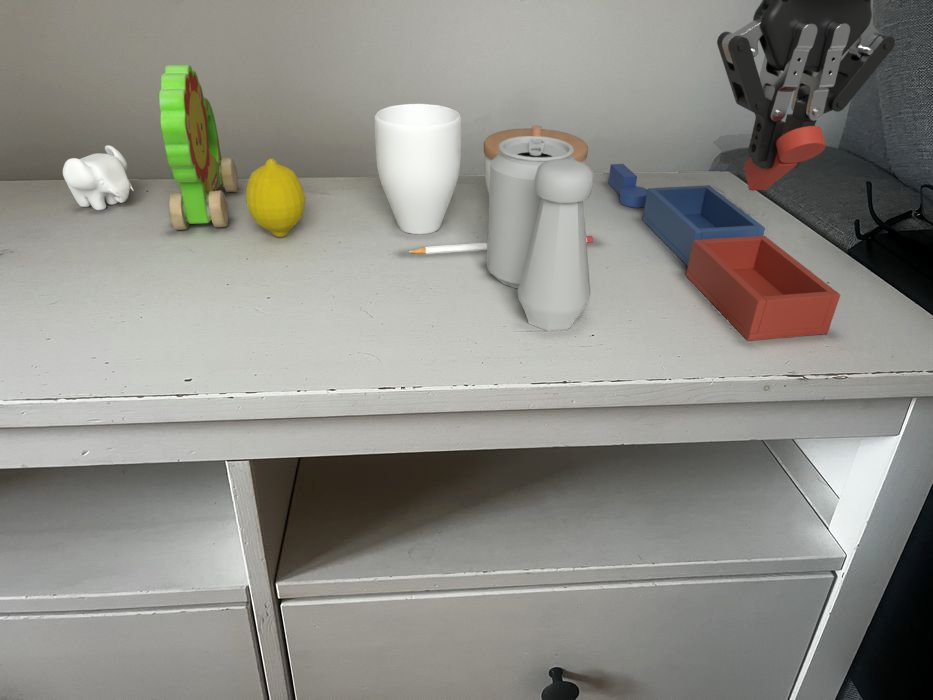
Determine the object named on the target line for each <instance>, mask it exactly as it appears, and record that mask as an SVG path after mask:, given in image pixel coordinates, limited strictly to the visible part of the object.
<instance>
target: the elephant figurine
mask: <svg viewBox="0 0 933 700" xmlns="http://www.w3.org/2000/svg"><path fill="white" fill-rule="evenodd" d="M104 151H105V152H106V153H99V152H98V153H91V154H88V155H87V156H84V157H81V158H76V157H72V158H68V159H67V160H66V161H65V162H64V164H63V167H62V176H63V178H64V181H65V183H66V185H67V188H68V189H69V191H70V193H71V194H72V197H73V198H74V200H75V202H76V203H77V204H78V206H79V207H81V208H88V207H90V206H91V207H92V208H93V210H96V211H103V210H105V209H106V208H107V204H108V205H111V206H112V205H117V204H118V203H119V204H121V203H125V202H126V201H127V200H128V198H129V195H130V190H132V191H133V192H134V191H135V190H134V188H133V187H132V183H131V181H130V179H129V178H128V175H127V172H128V171H127V170H128V163H127V160H126V158H125V156H123V154H122V153H121V152H120V151H119V150H118V149H116V148H115V147H114V146H112V145H105V146H104Z"/></svg>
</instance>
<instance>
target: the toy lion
mask: <svg viewBox="0 0 933 700" xmlns="http://www.w3.org/2000/svg"><path fill="white" fill-rule="evenodd" d="M158 97H159V98H158V103H159V111H160V119H159V122H160V130H161V135H162V139H163V143H164V149H165V157H166V161H167V163H168V165H169V168H170V169H171V172H172V176H173V179H174V181H175V182H176V183H179V188H180V192H174V193H170V195H169V198H168V199H169V200H168V211H169V212H168V213H169V218H170V221H171V224H172V228H173V229H175V230H176V231H178V230H180V231H181V230H188V229H189V228H190V224H192V225H193V224H194V225H195V224H196V225H199V224H209V223H210V222H212V225H213V227H214V228H226V227H228V225H229V208H228V203H227V199H226V196H225V194H224V192H223V190H221V188H222V187H223V189H224V190H225V192H226V193H237V191H238V187H239V178H238V177H239V176H238V171H237V167H236V163H235V161H234V159H233V158H232V157H222V152H221V147H220V140H219V133H218V129H217V128H218V127H217V123H216V118H215V115H214V111H213V108H212V107H213V106H212V105H211V103H210V101H209V99H208V98H206V97H205V96H204V92H203V88H202V85H201V83H200V81H199V76H198V74H197V72H196V70H193V68H192V66H191V65H190V64H167V65H165V67H164V73H162V74H161V77H160V90H159V92H158ZM217 189H220V190H217Z"/></svg>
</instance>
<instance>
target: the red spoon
mask: <svg viewBox="0 0 933 700" xmlns="http://www.w3.org/2000/svg"><path fill="white" fill-rule="evenodd" d="M776 147H777V151H778V152H777V154H776V157H775V161H774V165H773V167H772V168H768V169H762V168H760V167H758V166H757V165H755V164H754V163H753V162H752V157H750V158H749V159H748V160H747V161H745V163H743V168H744V173H745V178H746V182H747V188H748V191H765V190H766V191H767V190H768V189H769V188H770V187H771V186H772V185H774V184H775V183H776V182H778V181H779V180H780V179H781V178H783V177H784V176H785V175H786V174H788V173H790V171H791V170H792V169H794V168H796V167H795V166H796V165H797V162H800V163H801V162H805V161H808V160H810V159H812V158H815V157H817V156H819V155H820V154H821V153H823V152H824V151H825V149H826V141H825V138H824V134H823V130H822V128H821V127H820V126H817V125H815V126H806V127H801V128H797V129H794V130H792V131H789V132H787V133H785V134H784V135H782V136H781V137H780V138H779V139H778V140H777V141H776Z"/></svg>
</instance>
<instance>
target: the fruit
mask: <svg viewBox="0 0 933 700" xmlns="http://www.w3.org/2000/svg"><path fill="white" fill-rule="evenodd" d="M245 202H246V205H247V209H248V212H249V214H250V215H251V217H252V219H253V220H254V221H255V222H256V223H257V224H258V226H260V227H262V228H263V229H265V230H267V231H269V232H270V233H271V234H272V235H273V236H275V237H276V238H284V237H286V236H287V235H288V234H289V232H290V230H291V229H292V228H293V227H295V226H296V225H297V224H298V223H299V221H300V220H301V218H302V216H303V214H304V211H305V208H306V207H305V206H306V194H305V190H304V188H303V185H302V182H301V181H300V179H299V178H298V176H297V174H296V173H295V172H294V171H293V169H290V168H289V167H287V166H285V165H282V164H278V161H277V160H275V159H274V158H272V157H271V156H270V157H269V158H267V160H266V162H265V164H264V165H262V166H259V167H258V168H256V169H255V170H254V171H252V173H251V174H250V176H249V178H248V181H247V184H246V190H245Z"/></svg>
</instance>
